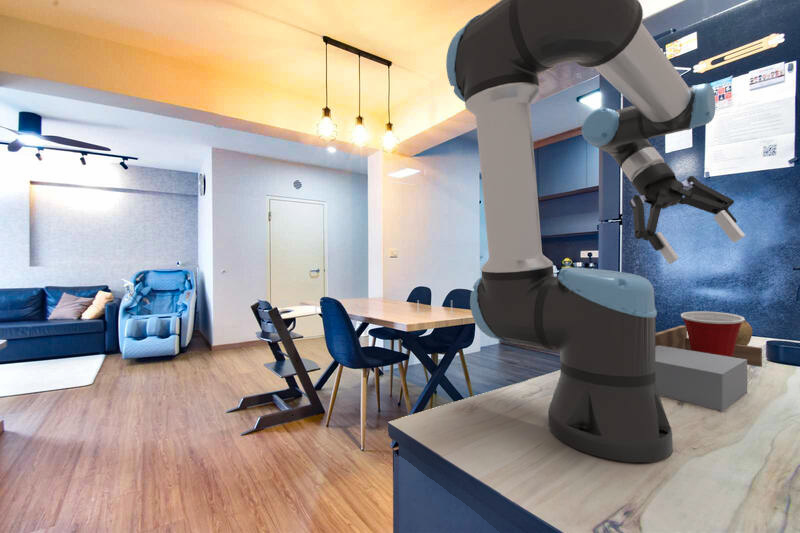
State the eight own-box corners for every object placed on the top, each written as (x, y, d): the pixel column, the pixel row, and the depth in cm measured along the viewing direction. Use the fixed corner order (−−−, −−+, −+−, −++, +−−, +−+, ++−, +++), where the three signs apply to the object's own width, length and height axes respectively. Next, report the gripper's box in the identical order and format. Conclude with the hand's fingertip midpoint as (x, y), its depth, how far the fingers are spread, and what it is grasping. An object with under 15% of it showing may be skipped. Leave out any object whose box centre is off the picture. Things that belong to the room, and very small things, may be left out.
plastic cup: (676, 368, 80) (676, 315, 80) (684, 358, 88) (684, 309, 88) (743, 379, 73) (743, 320, 72) (746, 367, 80) (746, 314, 80)
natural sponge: (702, 353, 92) (702, 314, 92) (706, 347, 98) (706, 311, 98) (751, 360, 85) (751, 318, 85) (753, 353, 92) (753, 314, 91)
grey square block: (722, 411, 58) (722, 374, 58) (627, 386, 69) (627, 355, 69) (747, 392, 66) (747, 359, 66) (658, 373, 77) (658, 345, 77)
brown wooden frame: (731, 386, 69) (731, 349, 69) (643, 367, 81) (642, 336, 81) (762, 365, 82) (762, 334, 81) (681, 352, 94) (681, 325, 94)
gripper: (692, 164, 86) (754, 238, 77) (590, 199, 87) (639, 276, 78) (711, 142, 79) (781, 220, 70) (600, 181, 81) (655, 263, 72)
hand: (706, 250), depth 74 cm, fingers open, 13 cm apart
